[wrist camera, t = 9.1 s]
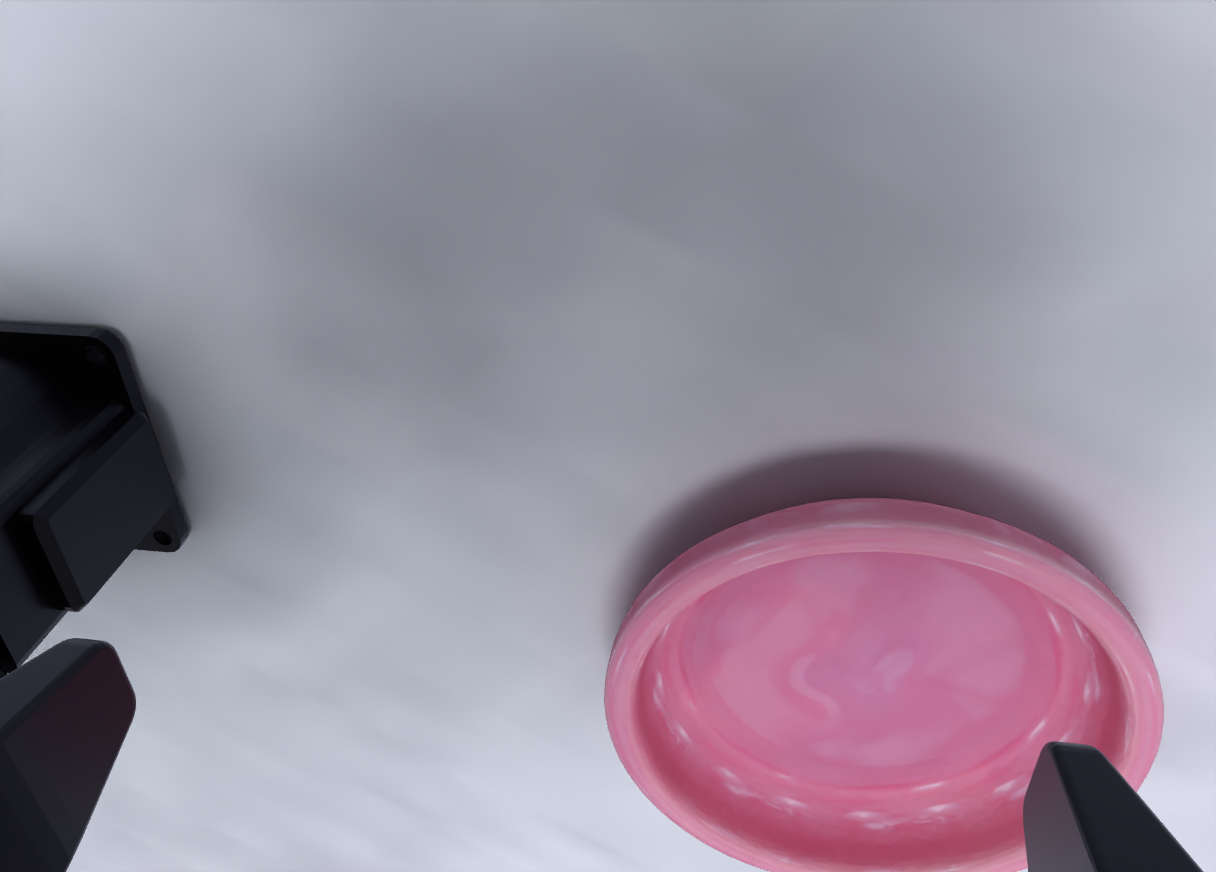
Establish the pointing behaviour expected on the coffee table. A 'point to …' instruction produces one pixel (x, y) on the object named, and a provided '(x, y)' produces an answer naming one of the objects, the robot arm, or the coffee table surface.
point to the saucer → (872, 686)
